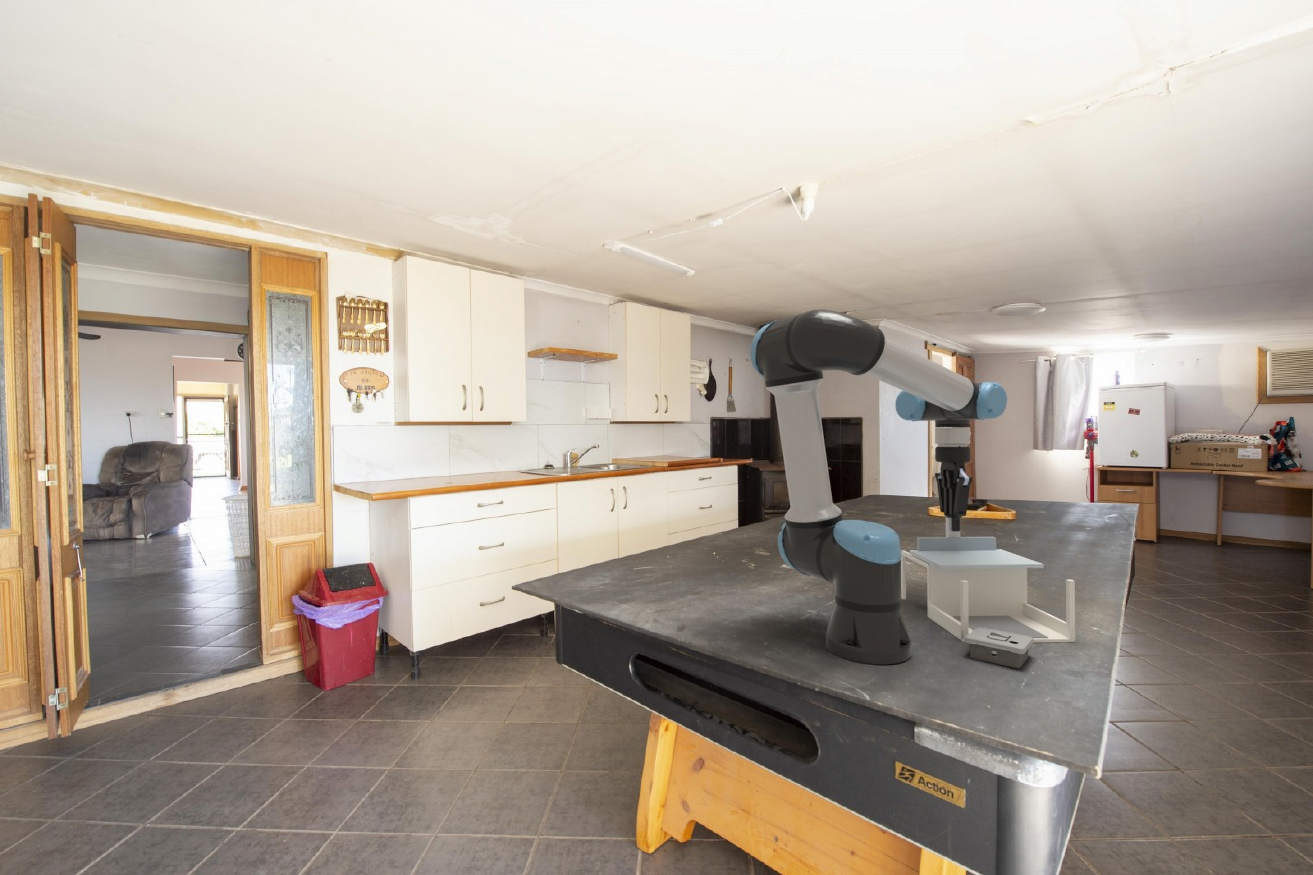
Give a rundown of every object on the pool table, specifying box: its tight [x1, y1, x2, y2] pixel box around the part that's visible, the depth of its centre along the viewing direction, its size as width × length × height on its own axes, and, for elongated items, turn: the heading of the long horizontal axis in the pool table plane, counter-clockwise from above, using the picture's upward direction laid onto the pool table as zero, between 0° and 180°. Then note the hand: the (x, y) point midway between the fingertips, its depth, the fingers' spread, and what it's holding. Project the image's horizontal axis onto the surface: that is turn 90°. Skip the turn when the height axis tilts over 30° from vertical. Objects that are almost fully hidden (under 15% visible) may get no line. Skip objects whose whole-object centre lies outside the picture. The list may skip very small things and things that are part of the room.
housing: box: [900, 549, 1076, 643], centre depth 126 cm, size 22×29×12 cm
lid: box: [909, 536, 1045, 569], centre depth 128 cm, size 22×15×4 cm
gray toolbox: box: [964, 627, 1035, 669], centre depth 104 cm, size 9×5×9 cm
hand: (952, 544), depth 136 cm, fingers closed
